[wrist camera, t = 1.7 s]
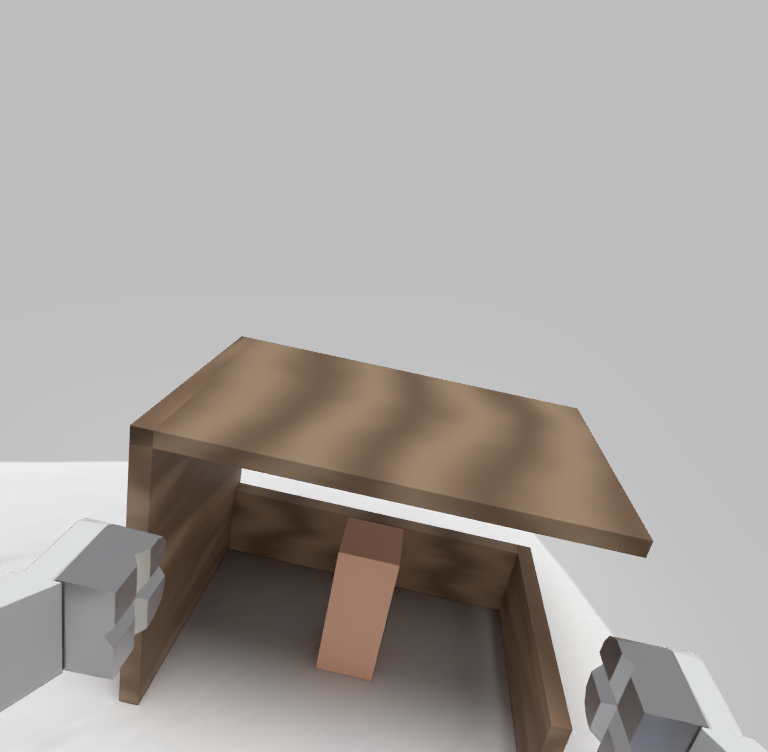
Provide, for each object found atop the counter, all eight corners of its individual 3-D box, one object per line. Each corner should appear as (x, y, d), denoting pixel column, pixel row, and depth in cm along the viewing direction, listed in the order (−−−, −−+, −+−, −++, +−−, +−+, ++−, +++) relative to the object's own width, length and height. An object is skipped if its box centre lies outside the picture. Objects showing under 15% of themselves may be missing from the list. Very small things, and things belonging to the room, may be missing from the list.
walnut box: (119, 700, 35) (130, 425, 28) (219, 537, 51) (242, 336, 44) (542, 800, 34) (653, 541, 28) (511, 603, 50) (577, 408, 44)
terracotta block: (315, 668, 40) (338, 552, 37) (326, 625, 44) (348, 516, 40) (371, 681, 40) (399, 565, 36) (377, 637, 44) (403, 529, 40)
